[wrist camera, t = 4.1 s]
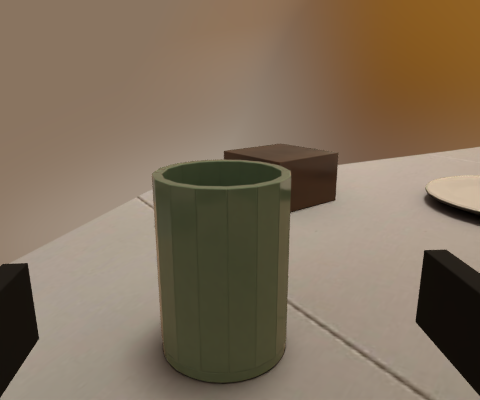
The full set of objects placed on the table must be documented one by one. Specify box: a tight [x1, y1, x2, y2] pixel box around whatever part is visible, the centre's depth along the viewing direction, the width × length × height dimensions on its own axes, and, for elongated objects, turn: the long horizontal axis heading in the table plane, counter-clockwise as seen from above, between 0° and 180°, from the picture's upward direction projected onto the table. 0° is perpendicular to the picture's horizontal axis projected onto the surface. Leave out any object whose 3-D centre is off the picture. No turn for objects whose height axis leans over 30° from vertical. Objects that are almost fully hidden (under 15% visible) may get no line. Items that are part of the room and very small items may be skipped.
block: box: [224, 144, 338, 212], centre depth 53 cm, size 10×10×6 cm
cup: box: [152, 160, 291, 383], centre depth 23 cm, size 7×7×10 cm
